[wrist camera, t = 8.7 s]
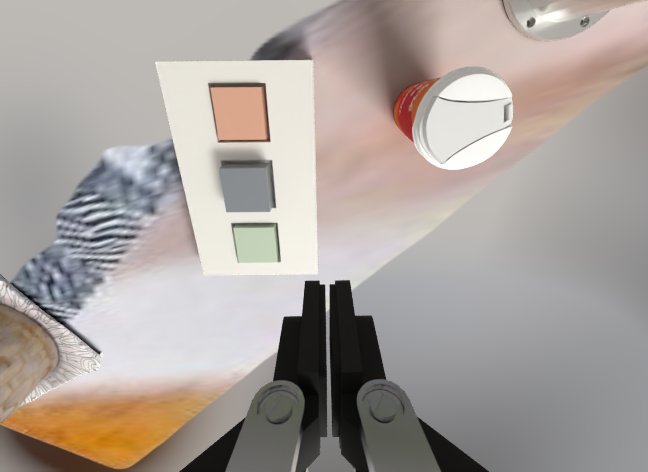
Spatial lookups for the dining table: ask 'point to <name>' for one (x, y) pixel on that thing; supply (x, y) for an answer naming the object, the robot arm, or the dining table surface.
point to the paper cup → (456, 117)
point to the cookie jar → (35, 351)
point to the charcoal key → (246, 187)
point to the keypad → (246, 159)
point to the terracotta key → (240, 113)
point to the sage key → (256, 242)
